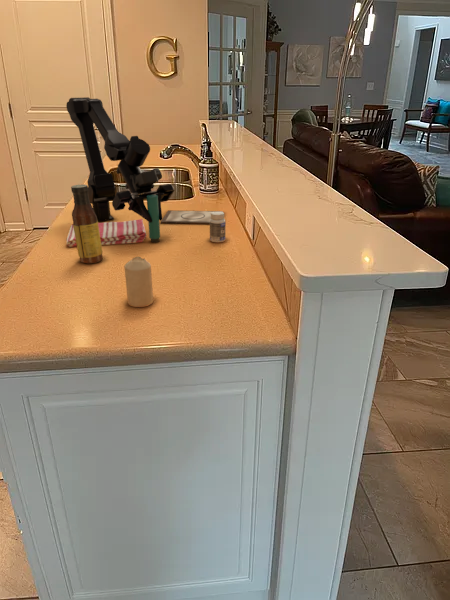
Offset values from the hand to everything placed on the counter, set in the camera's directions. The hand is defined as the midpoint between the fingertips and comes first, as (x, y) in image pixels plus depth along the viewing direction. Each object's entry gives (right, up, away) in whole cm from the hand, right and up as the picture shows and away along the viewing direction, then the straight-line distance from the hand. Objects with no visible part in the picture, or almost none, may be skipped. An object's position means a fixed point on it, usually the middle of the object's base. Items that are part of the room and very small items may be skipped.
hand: (156, 220), depth 137 cm
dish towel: (-16, -4, +8) cm, 19 cm away
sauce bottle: (-16, -13, -11) cm, 23 cm away
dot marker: (-1, -5, +4) cm, 7 cm away
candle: (+2, -24, -34) cm, 41 cm away
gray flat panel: (+9, +6, +27) cm, 29 cm away
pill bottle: (+18, -5, +5) cm, 19 cm away
